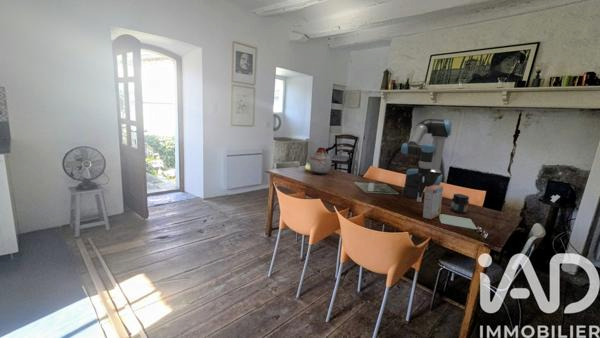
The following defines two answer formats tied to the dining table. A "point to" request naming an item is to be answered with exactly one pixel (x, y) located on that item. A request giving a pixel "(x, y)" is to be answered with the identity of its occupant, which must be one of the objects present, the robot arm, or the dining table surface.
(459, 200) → the supplement container
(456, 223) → the mat
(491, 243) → the dining table surface
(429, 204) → the cracker box
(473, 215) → the dining table surface
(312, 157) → the vase
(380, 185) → the dining table surface
